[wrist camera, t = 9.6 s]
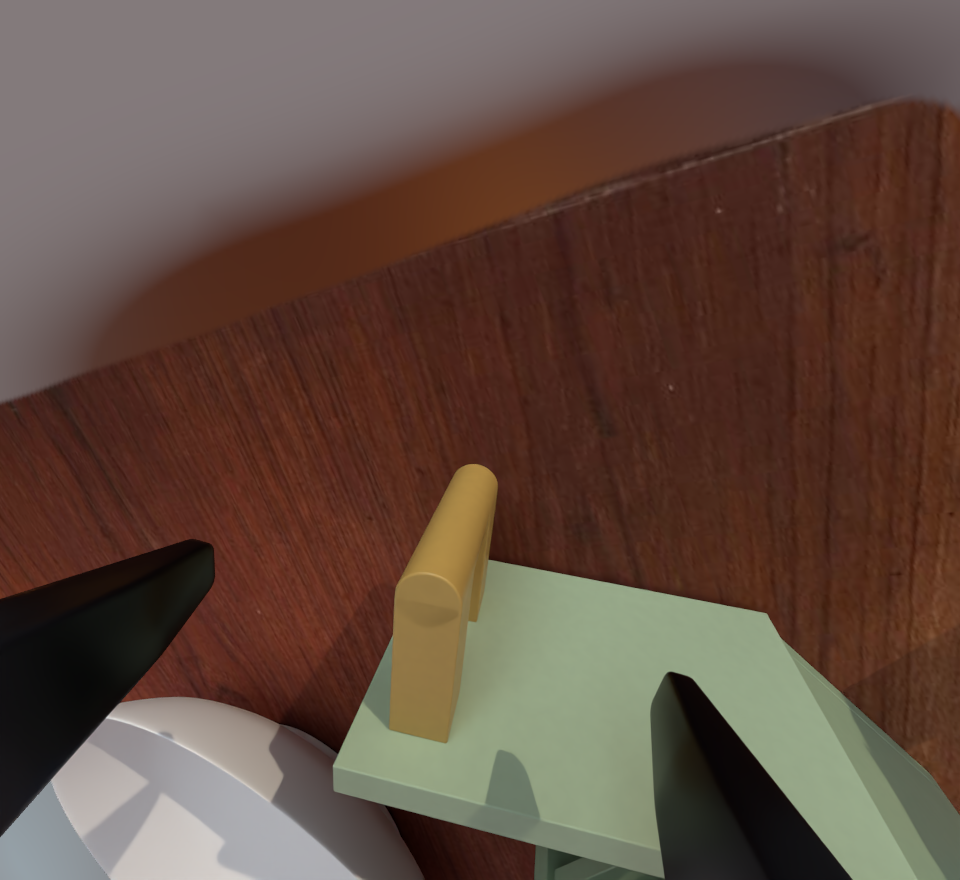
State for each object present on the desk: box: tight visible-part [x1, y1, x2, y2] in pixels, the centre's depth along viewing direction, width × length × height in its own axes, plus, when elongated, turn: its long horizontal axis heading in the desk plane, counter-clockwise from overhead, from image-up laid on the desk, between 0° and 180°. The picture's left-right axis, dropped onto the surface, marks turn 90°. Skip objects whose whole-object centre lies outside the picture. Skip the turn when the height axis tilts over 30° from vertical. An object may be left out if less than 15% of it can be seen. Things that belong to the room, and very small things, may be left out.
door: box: [333, 464, 918, 880], centre depth 14 cm, size 6×14×9 cm, turn 84°
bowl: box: [51, 697, 425, 880], centre depth 25 cm, size 30×15×6 cm, turn 26°
